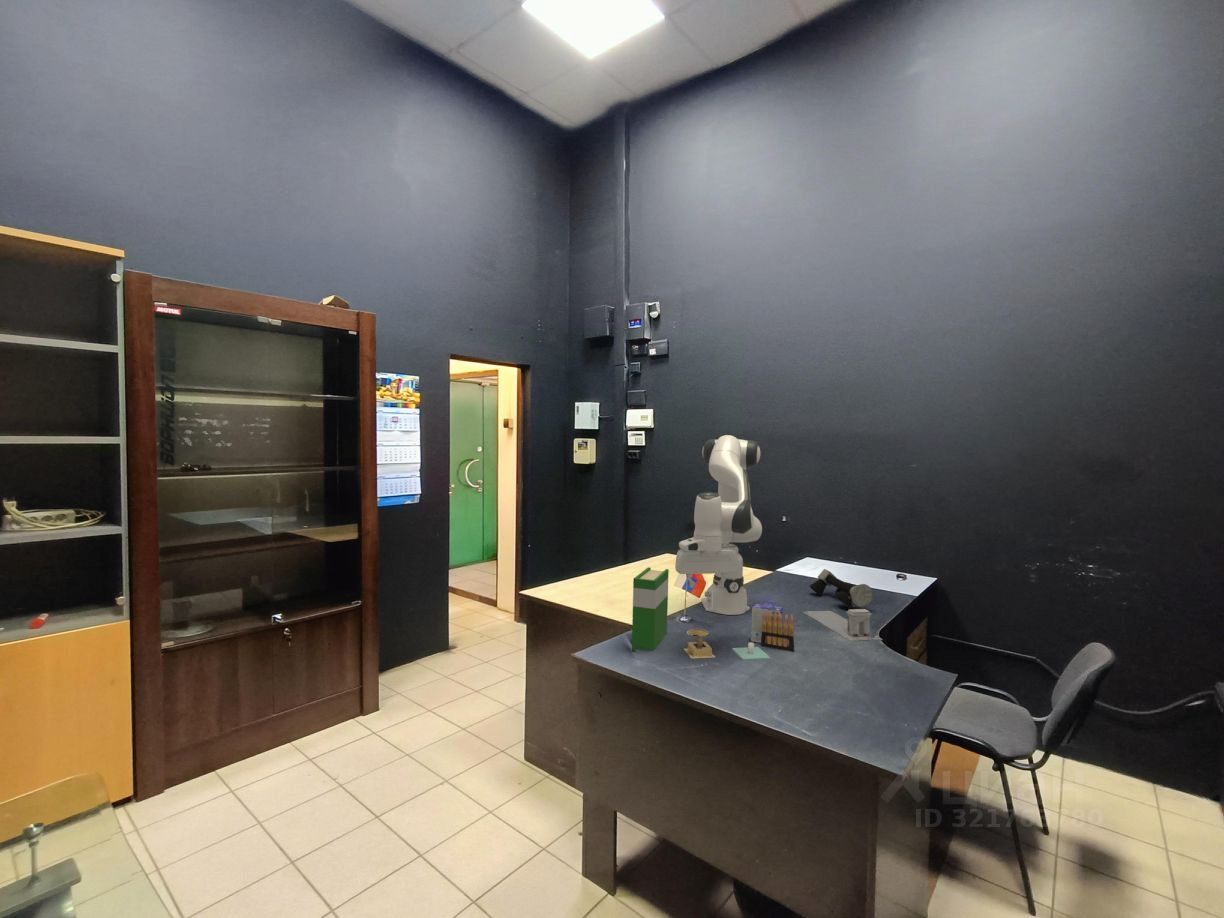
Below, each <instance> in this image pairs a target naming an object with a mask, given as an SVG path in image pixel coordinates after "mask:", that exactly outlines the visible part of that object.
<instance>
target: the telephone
mask: <svg viewBox="0 0 1224 918" xmlns="http://www.w3.org/2000/svg"><path fill="white" fill-rule="evenodd" d="M817 578H818V580H816V581H815V582H813V583H811V584H810V585H809V587H810V589H811V590H813V592H814V593H816V594H818V595H819V596H823V594H824V592H825V590H826V587H827V586H828V587H831V586H833V587H835V588H836V589H835V590H834V594H835V596H836V597H837V598H838V599H839V600H840V601H841V602H842V603H843V604H844V605H845V606H846V607H847V608H848V610H852V603H853V604H854V605H855V606H856V607H859V608H861V607H862V608H863V607H866V606H867V605H869V604H870V603H871V602H872V599H873V596H874V594H873V593H874V592H873V590H872V588H871V586H870V585H868V584H866V583H861V584H855V583H852V582H851V583H850V582H847V581H843V580H841V579H839V578H837V577H836V575H834V574H833V573H832V572H831V571H829V570H828V569H825V568H824V569H823V570H822V571H821V572H820V574H819V575H818V576H817Z"/></svg>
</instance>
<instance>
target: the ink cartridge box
mask: <svg viewBox="0 0 1224 918" xmlns="http://www.w3.org/2000/svg"><path fill="white" fill-rule="evenodd" d="M774 601H775V600H774V599H770V598H763V600H762V604H759V603H755V604H754V605H753V606H752V607H751V628H750V629H751V630H750V632H751V633H750V641H751V642H752V643H760V644H761V636H762V622H763V614H764V611H766V616H767V624H768V616H769V613H770V612H771V614H772V631H773V621H774V614H775V612H776V614H777V624H779V616H780V613H781V614H782V618H783V619H784V617H783V616H784V607H783V606H775V605H774V603H775V602H774ZM766 602H769V603H766ZM777 641H778V637H777Z"/></svg>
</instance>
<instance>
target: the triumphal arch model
mask: <svg viewBox="0 0 1224 918" xmlns="http://www.w3.org/2000/svg"><path fill="white" fill-rule="evenodd" d="M845 612H846V614H847V619H846V618H845V617H843V616H842V615H839V614H837V613H836V612H834V611H832V610H813V611H809V610H808V611H802V613H803V614H805V615H806V616H808V617H809V618H811V619H813V620H815V621H816V622H818V623H819V624H821V625H823V626H824V627H826V628H827V629H830V631H832V632H833V633H835V634H838V635H839V636H841V637H842V638H844V639H846V640H847V641H849V642H851V641H852V642H865V641H864V640H876V641H883V638H881V637H879V636H878V635H876V636H875V637H874V638H871V637H869V632H870V620H871V619H870V617H871V616H872V613H871V611H870V610H867V609H866V608H859V609H858V608H856V609H855V608H854V609H852V608H851V609H848V611H845ZM878 638H879V640H878ZM852 642H851V643H852Z"/></svg>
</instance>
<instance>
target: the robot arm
mask: <svg viewBox="0 0 1224 918" xmlns="http://www.w3.org/2000/svg"><path fill="white" fill-rule="evenodd" d="M701 451H702V452H701V454H702V455H701V456H702V458H703V461H704V463H705V464H706V465H708V471H709V474H710V475H711V477H712V478H713V480H715V481H717V483H718V485H717V487H718V489H717V492H712V491H710V492H709V491H708V492H702V493H701V492H700V493H699V494H697V495H696V498H695V505H694V510H693V523H694V531H693V537H690V538H687V539H683V540H681V541H679V542H678V547H679V548H680V549H678V550H677V553H676V555H675V556H676V557H675V563H674V564H675V568H674V569H675V571H676V572H677V573H678V574H680V575H685V577H686V578H687V580H688V582H689V585H688V586H689V588H690V589H695V588H696V586H697V584H696V582H695V581H694V580H693V579H692V578H693V575H694V574H695V575H697V574H698V575H699V574H702V575H703V574H704V575H705V574H706V575H708V574H713V579H712V580H713V581H712V584H710V585H709V587H708V588H707V589H706V590H704V597H703V598H701V603H702V605H703V607H704V610H705V611H707V612H713V613H717V614H720V615H721V614H722V615H730V616H731V615H732V616H737V615H743V614H745V613H747V611H750V609H751V607H750V606H749V605H748V599H747V597H748V596H747V590H746V588H744V583H745V579H744V577H745V576H744V573H743V572H744V560H743V557H742V555H741V554H740V553H739V547H738V546H737V545H736V544H734V543H751V542H756V541H758V540H759V539H760V538H761V536H762V533H763V526H762V522H761V521H760V519H758V517H756V516H755V515H754V512H753V508H752V503H751V491H750V490H751V489H750V482H749V475H748V472H747V470H750V469H751V468H755V467H756V466H757V465H758V462H759V461H760V459H761V454H762V453H761V449H760V446H759V443H758V442H757V441H755V440H750V439H748V440H747V439H746V440H745V439H739V438H737V437H735V436H734V435H729V434H725V435H722V436H720V437H719V438H718V439H716V438H713V439H708V440H706V441H705V443H704V445H703V447H702V450H701Z"/></svg>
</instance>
